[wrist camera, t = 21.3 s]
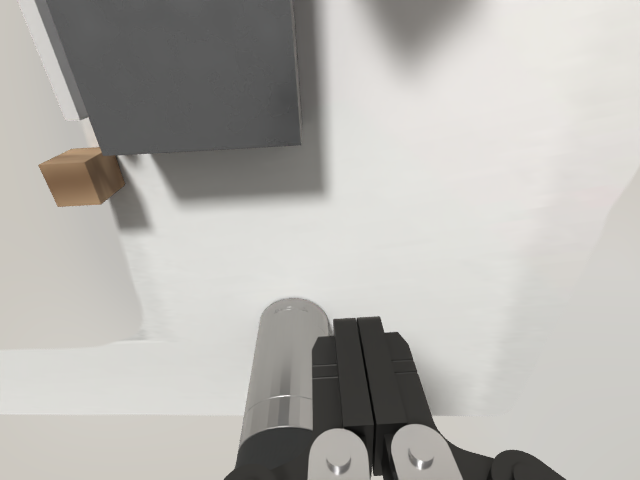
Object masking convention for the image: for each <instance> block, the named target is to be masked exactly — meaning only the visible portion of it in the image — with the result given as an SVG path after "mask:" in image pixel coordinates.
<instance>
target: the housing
mask: <svg viewBox="0 0 640 480" xmlns="http://www.w3.org/2000/svg"><path fill="white" fill-rule="evenodd" d="M46 2H47V5H48V8H49V11H50V13H51V16H52V19H53V21H54V24H55V27H56V30H57V32H58V35H59V38H60V41H61V43H62V46H63V49H64V51H65V54H66V57H67V60H68V62H69V65H70V68H71V70H72V73H73V76H74V79H75V81H76V84H77V87H78V89H79V92H80V95H81V98H82V100H83V103H84V106H85V108H86V111H87V114H88V117H89V119H90V122H91V125H92V127H93V130H94V133H95V136H96V138H97V141H98V144H99V147H100V149H101V152H102V155H103V156H113V155H131V154H149V153H167V152H185V151H204V150H222V149H240V148H258V147H276V146H294V145H301V138H302V115H301V101H300V87H299V73H298V59H297V45H296V31H295V17H294V2H293V0H46Z"/></svg>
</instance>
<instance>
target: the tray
mask: <svg viewBox="0 0 640 480" xmlns="http://www.w3.org/2000/svg"><path fill="white" fill-rule="evenodd" d="M17 2H18V4H19V6H20V9H21V12H22V14H23V17H24V19H25V22H26V24H27V27H28V29H29V32H30V34H31V36H32V39H33V41H34V44H35V47H36V49H37V51H38V54H39V56H40V59H41V61H42V64H43V66H44V69H45V71H46V74H47V76H48V79H49V81H50V84H51V86H52V89H53V91H54V94H55V96H56V99H57V101H58V104H59V106H60V109H61V111H62V113H63V116H64V119H65V121H74V120H82V119H85V118H87V117H88V114H87V111H86V108H85V106H84V103H83V100H82V98H81V95H80V92H79V89H78V87H77V84H76V81H75V79H74V76H73V73H72V70H71V68H70V65H69V62H68V60H67V57H66V54H65V51H64V49H63V46H62V43H61V41H60V38H59V35H58V32H57V30H56V27H55V24H54V21H53V19H52V16H51V13H50V11H49V8H48V5H47V2H46V0H17Z"/></svg>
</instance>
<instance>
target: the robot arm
mask: <svg viewBox="0 0 640 480" xmlns="http://www.w3.org/2000/svg"><path fill="white" fill-rule="evenodd" d="M333 328H334V336H329V331H328V320H327V317H326V314H325V313H324V311H323V310H322V309H321V308H320V307H319V306H318V305H316V304H314V303H313V302H310V301H308V300H304V299H299V298H289V299H283V300H280V301H277V302H275V303H273V304H271V305H270V306H269V307H267V308H266V309H265V311H264V312H263V313H262V316H261V318H260V324H259V330H258V336H257V341H256V347H255V353H254V359H253V365H252V371H251V377H250V383H249V389H248V395H247V401H246V407H245V413H244V419H243V426H242V432H241V438H240V444H239V450H238V455H237V462H236V466H235V469H234V470H233V471H232V472H231V473H230V474H229V475H228V476H226V478H225V479H224V480H370V478H371V472H372V467H373V474H374V476H381V475H383V479H384V480H566V479H565V478H563V477H562V476H560V475H559V474H558V473H556V472H555V471H554V470H552V469H551V468H550V467H548V466H547V465H546V464H544V463H543V462H542V461H540V460H539V459H537V458H536V457H534V456H532V455H530V454H528V453H525V452H523V451H518V450H506V451H503V452H501V453H500V454H498V455H497V456H496V457H495V459H494V458H490V457H486V456H483V455H480V454H476V453H472V452H469V451H466V450H463V449H460V448H458V447H456V446H455V445H453V444H452V443H450V442H449V441H447V439H445V438H444V437H443V435H442V434H441V433H440V432H439V431H438V429H437V427H436V426H435V424H434V421H433V419H432V415H431V412H430V409H429V406H428V403H427V400H426V397H425V394H424V391H423V388H422V385H421V382H420V379H419V376H418V374H417V370H416V366H415V363H414V362H413V357H412V354H411V351H410V348H409V345H408V343H407V342H406V341H405V340H404V339H403V338H402V337H401V335H400V334H399V333H398V332H390V333H384V330H383V326H382V322H381V319H380V317H379V316H378V317H360V318H357V322H356V318H345V319H333Z"/></svg>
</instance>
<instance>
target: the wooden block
mask: <svg viewBox="0 0 640 480" xmlns="http://www.w3.org/2000/svg"><path fill="white" fill-rule="evenodd" d="M39 168H40V170H41V172H42V174H43V176H44V178H45V180H46V182H47V185H48V187H49V189H50V191H51V193H52V195H53V197H54V199H55V202H56V204H57V206H58V207H63V206H81V205H99V204H102V203H103V202H105V201H106V200H107V199H108V198H109V197H111V196H112V195H113V194H114V193H116V192H117V191H118V190H119V189H120V188H122V187H123V186H124V185H125V182H124V179H123V177H122V174H121V171H120V168H119V165H118V162H117V159H116V157H115V155H113V156H103V155H102V152H101V149H100V147H97V148H80V149H70V150H68V151H66V152H65V153H62V154H60V155H58V156H56V157H54V158H52V159H50V160H48V161H46V162H44V163H42V164H39Z"/></svg>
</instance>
